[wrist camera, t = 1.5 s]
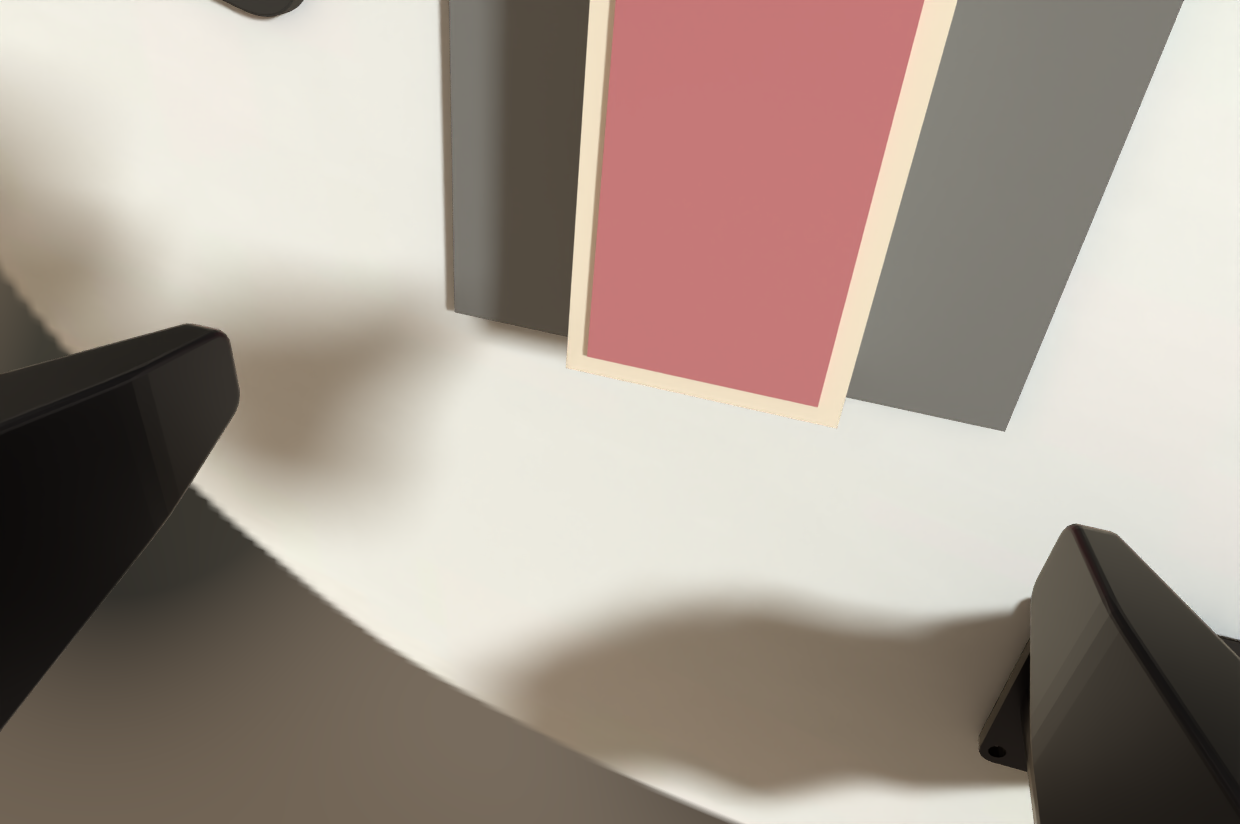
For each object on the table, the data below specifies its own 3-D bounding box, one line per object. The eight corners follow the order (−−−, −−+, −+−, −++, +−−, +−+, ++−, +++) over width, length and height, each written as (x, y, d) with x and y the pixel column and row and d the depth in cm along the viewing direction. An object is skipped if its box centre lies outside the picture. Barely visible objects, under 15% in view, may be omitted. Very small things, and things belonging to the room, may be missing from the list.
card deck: (845, 359, 21) (836, 432, 19) (603, 309, 22) (563, 371, 20) (961, -66, 16) (970, -46, 13) (640, -107, 17) (593, -95, 14)
